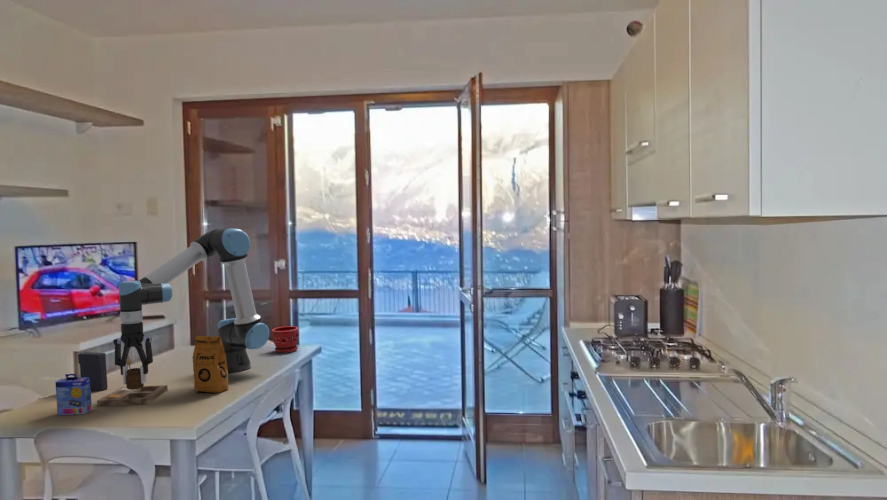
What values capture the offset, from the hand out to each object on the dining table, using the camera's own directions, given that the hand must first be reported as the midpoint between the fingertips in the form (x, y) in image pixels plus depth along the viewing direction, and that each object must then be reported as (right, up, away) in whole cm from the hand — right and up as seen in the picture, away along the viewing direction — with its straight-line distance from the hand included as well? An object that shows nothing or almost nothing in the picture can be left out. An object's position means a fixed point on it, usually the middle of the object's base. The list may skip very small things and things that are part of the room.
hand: (135, 382), depth 247 cm
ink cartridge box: (-15, -8, -13) cm, 22 cm away
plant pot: (+36, -2, +88) cm, 95 cm away
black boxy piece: (-26, -7, +21) cm, 34 cm away
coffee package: (+25, -6, +12) cm, 28 cm away
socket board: (-3, -7, +5) cm, 9 cm away
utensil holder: (0, -2, 0) cm, 2 cm away
